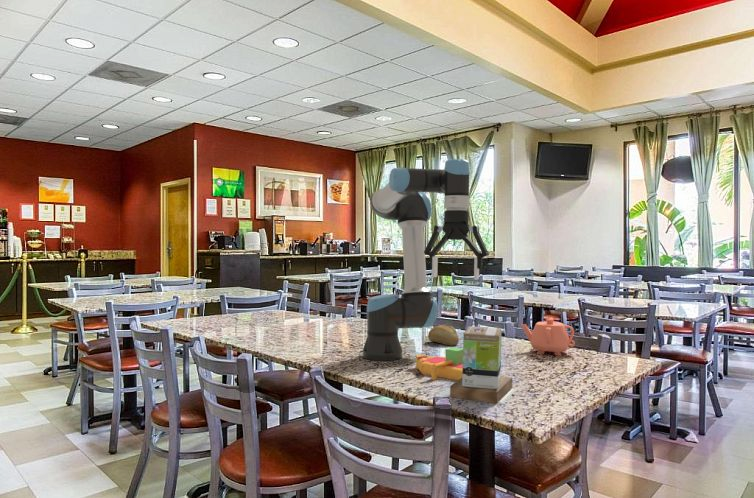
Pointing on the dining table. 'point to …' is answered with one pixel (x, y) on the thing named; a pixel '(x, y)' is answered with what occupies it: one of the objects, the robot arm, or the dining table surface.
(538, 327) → the teapot
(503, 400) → the blueprint board
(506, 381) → the pedestal
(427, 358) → the raft
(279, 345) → the dining table surface
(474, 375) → the tea box
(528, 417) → the dining table surface
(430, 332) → the bread roll
